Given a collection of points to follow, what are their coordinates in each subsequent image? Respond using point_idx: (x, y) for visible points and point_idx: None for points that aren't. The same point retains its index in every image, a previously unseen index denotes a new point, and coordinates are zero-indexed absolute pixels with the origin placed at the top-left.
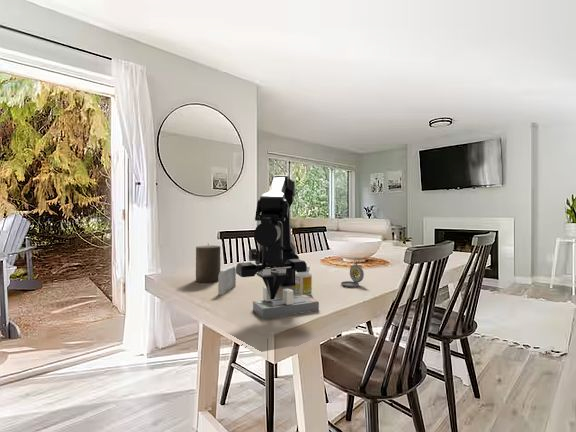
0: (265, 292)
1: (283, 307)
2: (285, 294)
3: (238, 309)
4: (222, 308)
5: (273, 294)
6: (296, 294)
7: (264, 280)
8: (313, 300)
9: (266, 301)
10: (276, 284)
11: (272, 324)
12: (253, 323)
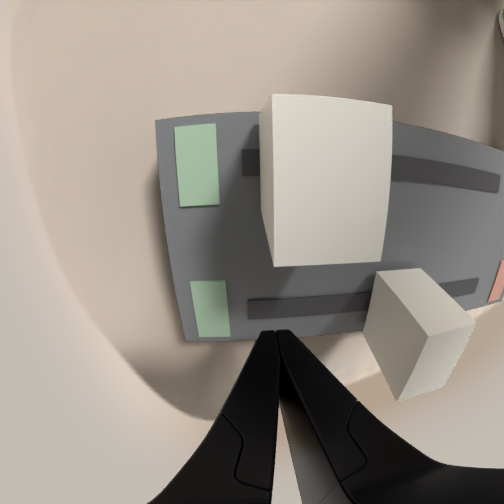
0: (268, 201)
1: (334, 329)
2: (393, 361)
3: (93, 88)
4: (33, 62)
5: (279, 398)
6: (501, 27)
7: (184, 498)
8: (501, 284)
9: (261, 211)
10: (302, 497)
11: (220, 374)
12: (140, 340)
